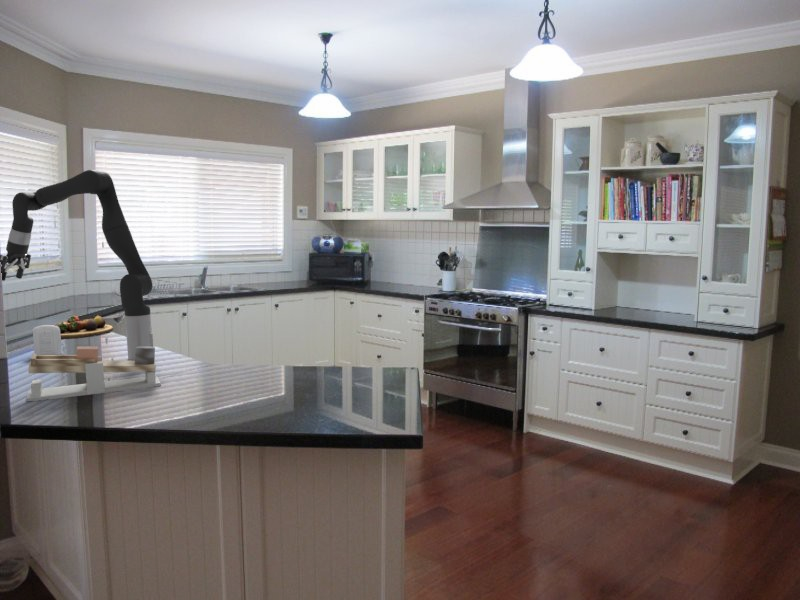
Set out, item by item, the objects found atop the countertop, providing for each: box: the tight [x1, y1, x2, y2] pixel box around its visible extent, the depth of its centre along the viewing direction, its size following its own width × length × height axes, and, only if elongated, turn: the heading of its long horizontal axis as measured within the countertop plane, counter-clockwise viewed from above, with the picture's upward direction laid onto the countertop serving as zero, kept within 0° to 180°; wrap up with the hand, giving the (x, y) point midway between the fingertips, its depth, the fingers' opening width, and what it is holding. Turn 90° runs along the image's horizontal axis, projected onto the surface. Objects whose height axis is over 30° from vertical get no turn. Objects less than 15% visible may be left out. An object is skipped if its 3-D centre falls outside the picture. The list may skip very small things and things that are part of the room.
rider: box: [76, 345, 99, 363], centre depth 212 cm, size 6×5×5 cm
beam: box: [28, 346, 157, 374], centre depth 213 cm, size 36×9×7 cm, turn 116°
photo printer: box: [32, 324, 63, 355], centre depth 272 cm, size 10×4×12 cm, turn 98°
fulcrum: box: [26, 355, 161, 402], centre depth 213 cm, size 38×12×10 cm, turn 115°
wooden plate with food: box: [54, 315, 114, 340], centre depth 327 cm, size 32×32×8 cm
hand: (10, 279), depth 270 cm, fingers open, 8 cm apart
